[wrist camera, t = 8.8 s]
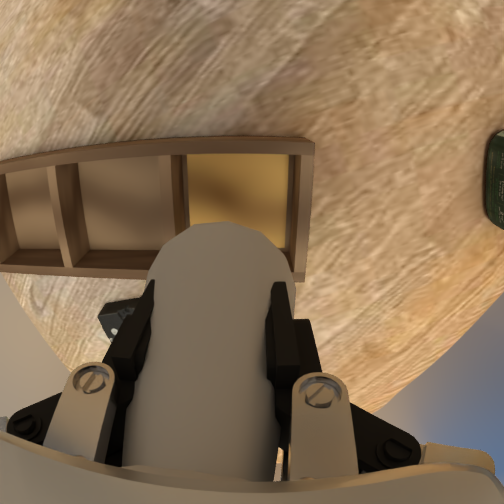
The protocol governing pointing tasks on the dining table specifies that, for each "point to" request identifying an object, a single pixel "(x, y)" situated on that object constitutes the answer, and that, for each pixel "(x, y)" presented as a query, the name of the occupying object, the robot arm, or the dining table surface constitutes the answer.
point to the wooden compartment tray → (150, 201)
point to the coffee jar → (495, 180)
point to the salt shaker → (208, 359)
